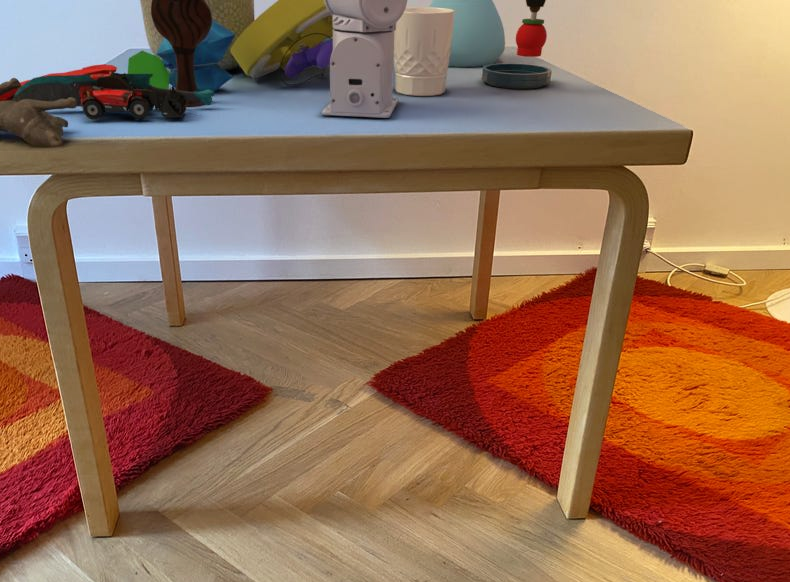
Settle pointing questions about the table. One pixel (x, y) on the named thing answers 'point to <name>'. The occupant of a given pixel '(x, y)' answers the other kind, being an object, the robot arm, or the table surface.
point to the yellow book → (281, 35)
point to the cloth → (84, 71)
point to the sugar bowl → (474, 32)
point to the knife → (64, 88)
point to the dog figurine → (33, 118)
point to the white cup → (422, 50)
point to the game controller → (309, 58)
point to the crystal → (203, 59)
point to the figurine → (183, 35)
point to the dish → (516, 75)
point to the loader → (126, 98)
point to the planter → (227, 8)
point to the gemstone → (149, 68)
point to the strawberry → (531, 35)
